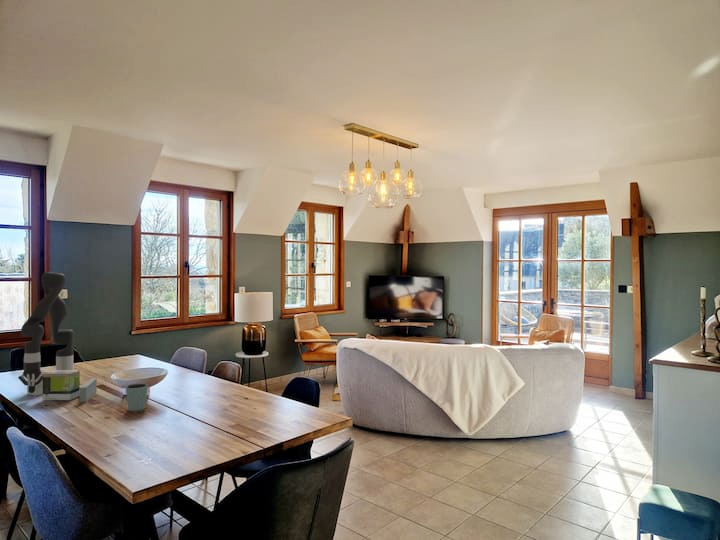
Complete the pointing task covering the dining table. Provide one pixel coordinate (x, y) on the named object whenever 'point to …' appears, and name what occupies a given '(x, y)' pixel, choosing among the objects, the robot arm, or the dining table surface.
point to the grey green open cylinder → (136, 396)
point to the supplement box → (37, 386)
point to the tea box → (61, 385)
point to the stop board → (88, 390)
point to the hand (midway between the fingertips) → (31, 392)
